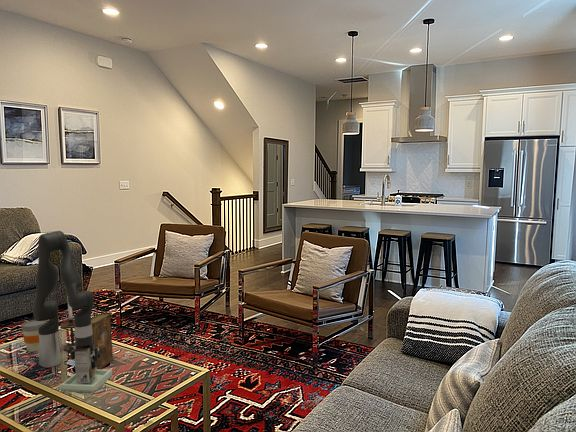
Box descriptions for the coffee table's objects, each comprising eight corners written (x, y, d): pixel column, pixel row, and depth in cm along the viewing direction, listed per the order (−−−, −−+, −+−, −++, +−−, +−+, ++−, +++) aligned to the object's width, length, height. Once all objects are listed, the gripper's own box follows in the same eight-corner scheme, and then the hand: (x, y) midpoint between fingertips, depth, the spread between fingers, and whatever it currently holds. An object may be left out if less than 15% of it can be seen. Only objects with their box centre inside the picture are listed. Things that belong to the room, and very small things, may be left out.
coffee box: (83, 374, 207) (81, 342, 205) (97, 373, 208) (95, 341, 206) (75, 383, 198) (73, 350, 196) (90, 382, 198) (87, 349, 197)
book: (105, 358, 230) (102, 313, 227) (114, 359, 229) (111, 313, 226) (84, 372, 214) (81, 324, 211) (94, 373, 213) (91, 324, 210)
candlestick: (73, 343, 251) (68, 284, 247) (87, 345, 248) (83, 285, 244) (57, 350, 241) (52, 289, 237) (72, 353, 237) (68, 291, 234)
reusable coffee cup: (37, 342, 253) (35, 318, 251) (54, 345, 249) (52, 320, 247) (18, 351, 241) (15, 325, 239) (35, 354, 237) (33, 327, 235)
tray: (60, 391, 196) (60, 384, 196) (81, 374, 212) (81, 368, 211) (93, 392, 194) (93, 386, 194) (112, 375, 210) (111, 369, 210)
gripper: (64, 336, 198) (66, 371, 199) (93, 337, 196) (96, 372, 198) (74, 330, 205) (76, 364, 207) (102, 331, 203) (104, 365, 205)
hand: (86, 368), depth 202 cm, fingers closed on coffee box, 7 cm apart
